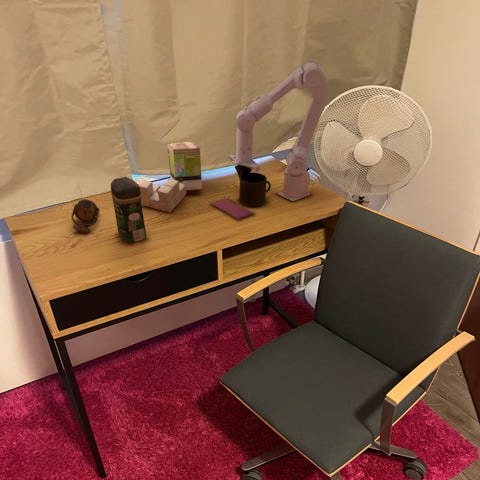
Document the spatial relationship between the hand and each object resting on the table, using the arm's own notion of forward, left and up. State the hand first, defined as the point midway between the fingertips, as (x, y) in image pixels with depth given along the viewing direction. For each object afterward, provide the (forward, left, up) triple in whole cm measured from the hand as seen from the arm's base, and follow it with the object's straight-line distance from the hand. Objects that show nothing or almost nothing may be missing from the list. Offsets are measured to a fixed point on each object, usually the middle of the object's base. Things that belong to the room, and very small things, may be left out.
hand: (243, 184), depth 174 cm
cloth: (+11, +7, -4) cm, 13 cm away
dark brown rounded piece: (+56, -15, -4) cm, 58 cm away
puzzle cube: (+26, -13, -3) cm, 29 cm away
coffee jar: (+48, +2, -4) cm, 48 cm away
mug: (0, +7, -4) cm, 8 cm away
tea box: (+13, -17, -3) cm, 22 cm away
